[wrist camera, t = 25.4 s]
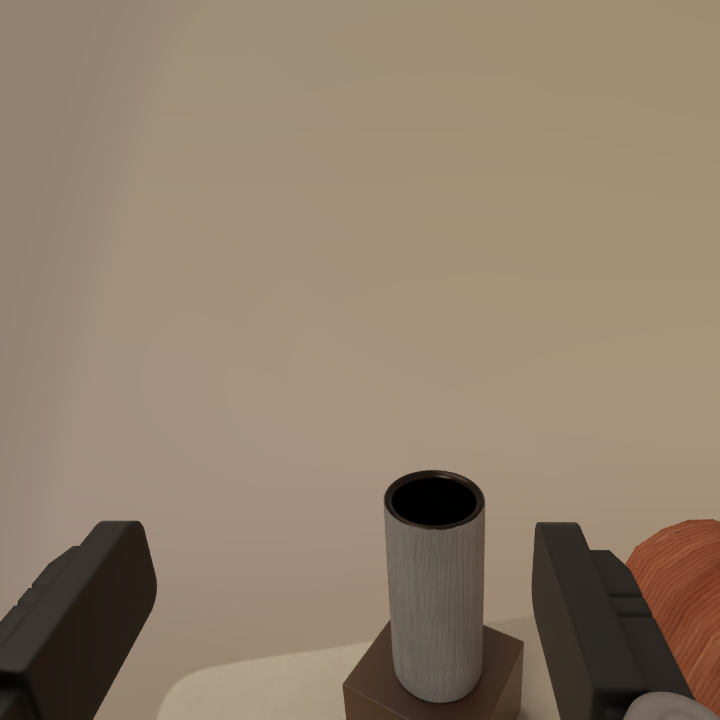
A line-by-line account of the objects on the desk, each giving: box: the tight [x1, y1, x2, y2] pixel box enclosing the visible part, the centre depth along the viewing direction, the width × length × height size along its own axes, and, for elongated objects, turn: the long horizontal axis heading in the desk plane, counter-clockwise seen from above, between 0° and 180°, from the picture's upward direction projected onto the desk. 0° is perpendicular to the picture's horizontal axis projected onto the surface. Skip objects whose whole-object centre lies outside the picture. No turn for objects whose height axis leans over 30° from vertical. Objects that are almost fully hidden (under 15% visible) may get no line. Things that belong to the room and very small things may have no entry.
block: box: [343, 619, 524, 720], centre depth 31 cm, size 7×7×5 cm
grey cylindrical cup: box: [384, 470, 485, 703], centre depth 28 cm, size 4×4×10 cm
